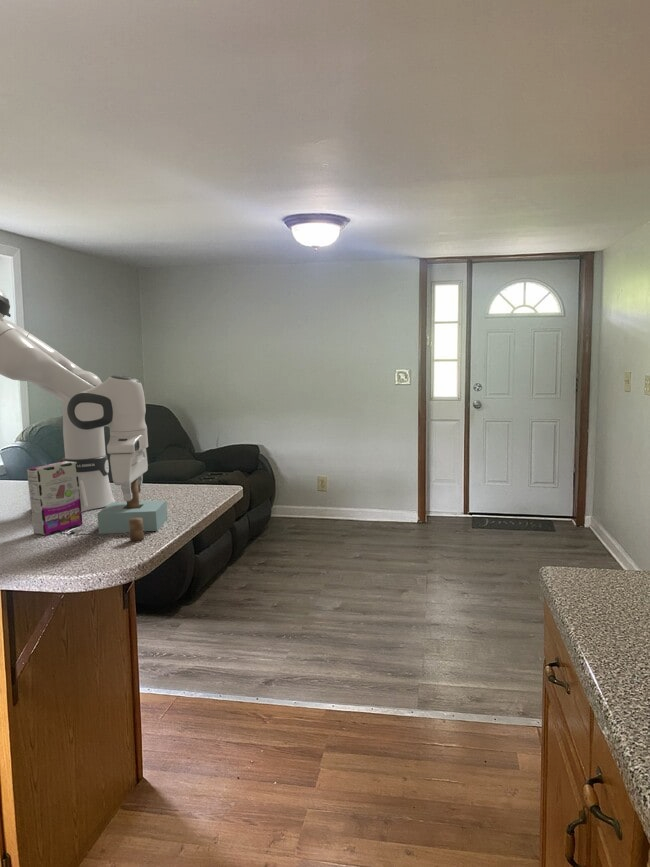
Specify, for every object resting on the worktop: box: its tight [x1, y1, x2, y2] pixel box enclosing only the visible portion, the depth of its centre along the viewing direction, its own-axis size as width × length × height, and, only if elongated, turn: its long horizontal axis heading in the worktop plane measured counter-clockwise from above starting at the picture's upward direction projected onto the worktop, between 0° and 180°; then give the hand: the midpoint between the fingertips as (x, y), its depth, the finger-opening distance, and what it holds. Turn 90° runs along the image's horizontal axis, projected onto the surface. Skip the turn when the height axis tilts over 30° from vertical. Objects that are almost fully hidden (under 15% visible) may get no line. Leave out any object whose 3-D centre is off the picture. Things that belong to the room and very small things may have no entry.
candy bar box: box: [26, 461, 84, 536], centre depth 163 cm, size 11×5×16 cm, turn 148°
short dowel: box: [129, 517, 145, 543], centre depth 151 cm, size 3×3×5 cm
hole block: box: [96, 499, 169, 535], centre depth 164 cm, size 14×12×5 cm
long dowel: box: [126, 479, 140, 509], centre depth 163 cm, size 3×3×12 cm
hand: (133, 496), depth 163 cm, fingers open, 8 cm apart
